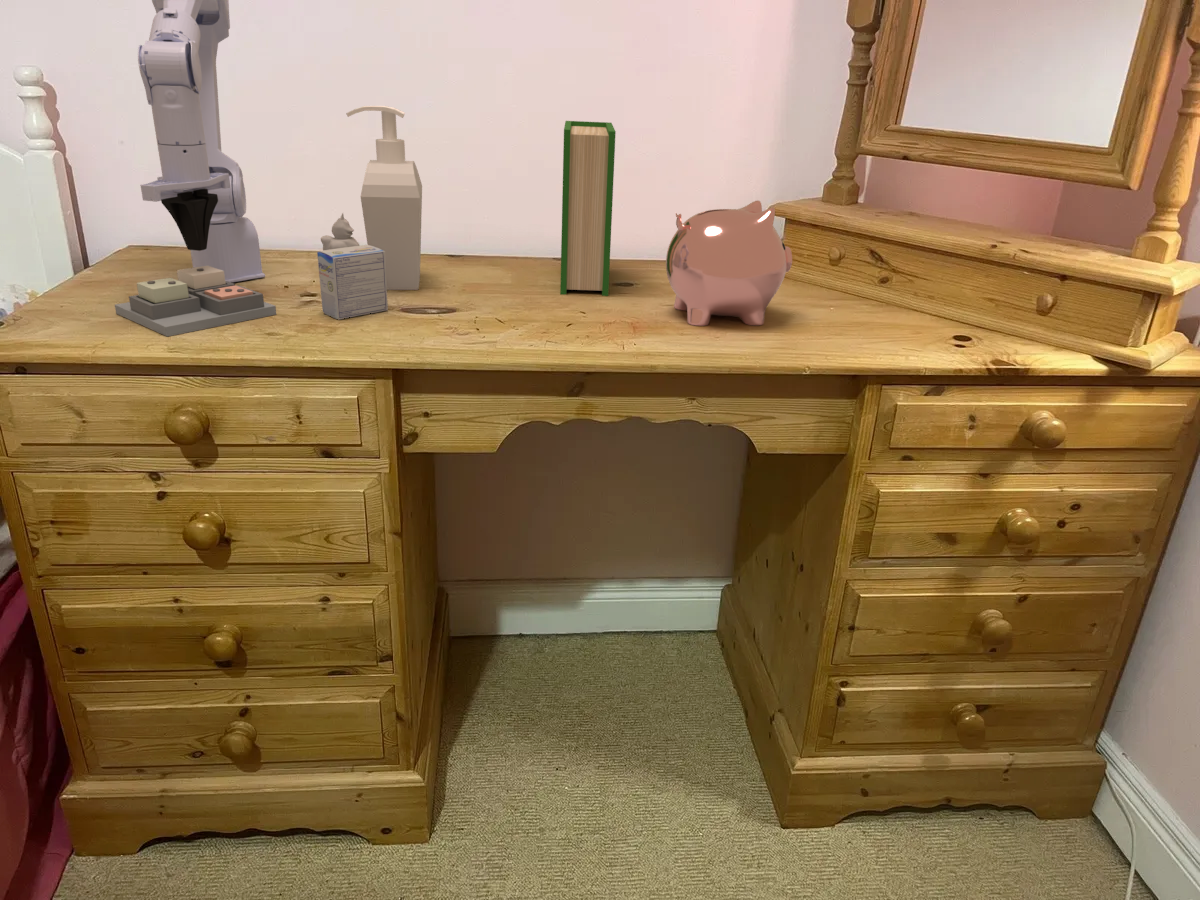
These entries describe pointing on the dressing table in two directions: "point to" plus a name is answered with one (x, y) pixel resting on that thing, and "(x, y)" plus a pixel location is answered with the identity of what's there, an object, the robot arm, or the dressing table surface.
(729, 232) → the piggy bank
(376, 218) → the soap bottle
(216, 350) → the dressing table surface
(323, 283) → the medicine box
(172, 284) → the tile sage
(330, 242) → the rubber duck
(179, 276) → the tile ivory
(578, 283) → the hardback book
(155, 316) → the stacking puzzle board
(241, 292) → the tile coral
